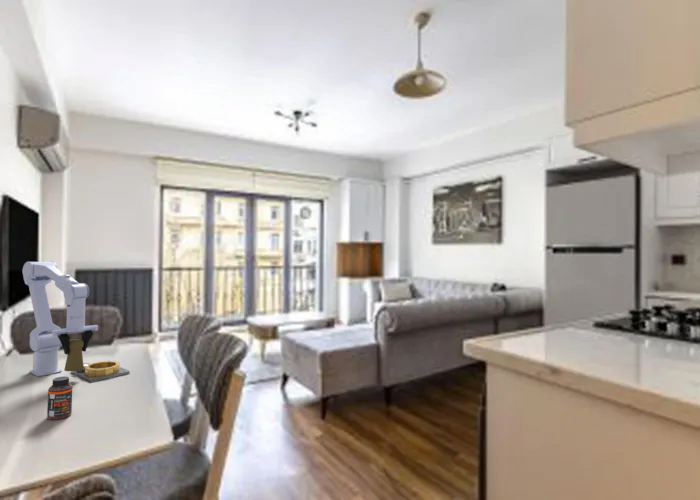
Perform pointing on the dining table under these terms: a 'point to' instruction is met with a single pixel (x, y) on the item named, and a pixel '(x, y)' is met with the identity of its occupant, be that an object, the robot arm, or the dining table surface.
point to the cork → (75, 356)
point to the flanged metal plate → (100, 371)
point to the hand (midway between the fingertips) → (75, 352)
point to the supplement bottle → (59, 398)
